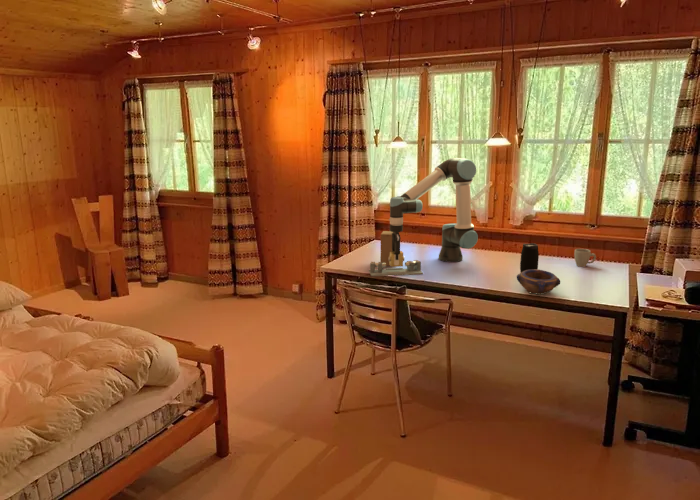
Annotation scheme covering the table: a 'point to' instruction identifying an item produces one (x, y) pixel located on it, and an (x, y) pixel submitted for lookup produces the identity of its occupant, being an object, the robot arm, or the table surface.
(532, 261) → the portable speaker
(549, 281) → the bowl
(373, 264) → the grey bracket
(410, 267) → the grey metal block
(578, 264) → the mug
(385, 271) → the rig
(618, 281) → the table surface
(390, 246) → the wooden block
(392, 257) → the coupling
